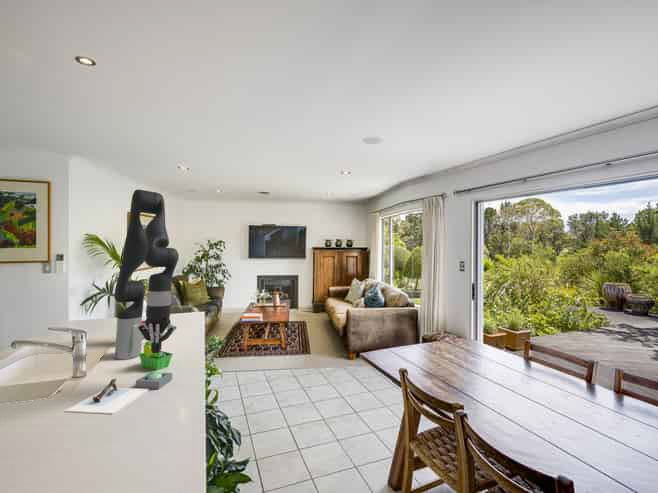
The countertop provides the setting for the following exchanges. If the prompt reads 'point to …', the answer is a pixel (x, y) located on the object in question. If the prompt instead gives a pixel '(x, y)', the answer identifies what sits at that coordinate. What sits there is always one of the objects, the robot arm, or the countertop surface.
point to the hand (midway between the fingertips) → (155, 352)
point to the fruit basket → (154, 358)
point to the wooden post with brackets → (97, 398)
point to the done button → (154, 376)
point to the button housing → (153, 381)
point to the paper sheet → (108, 401)
